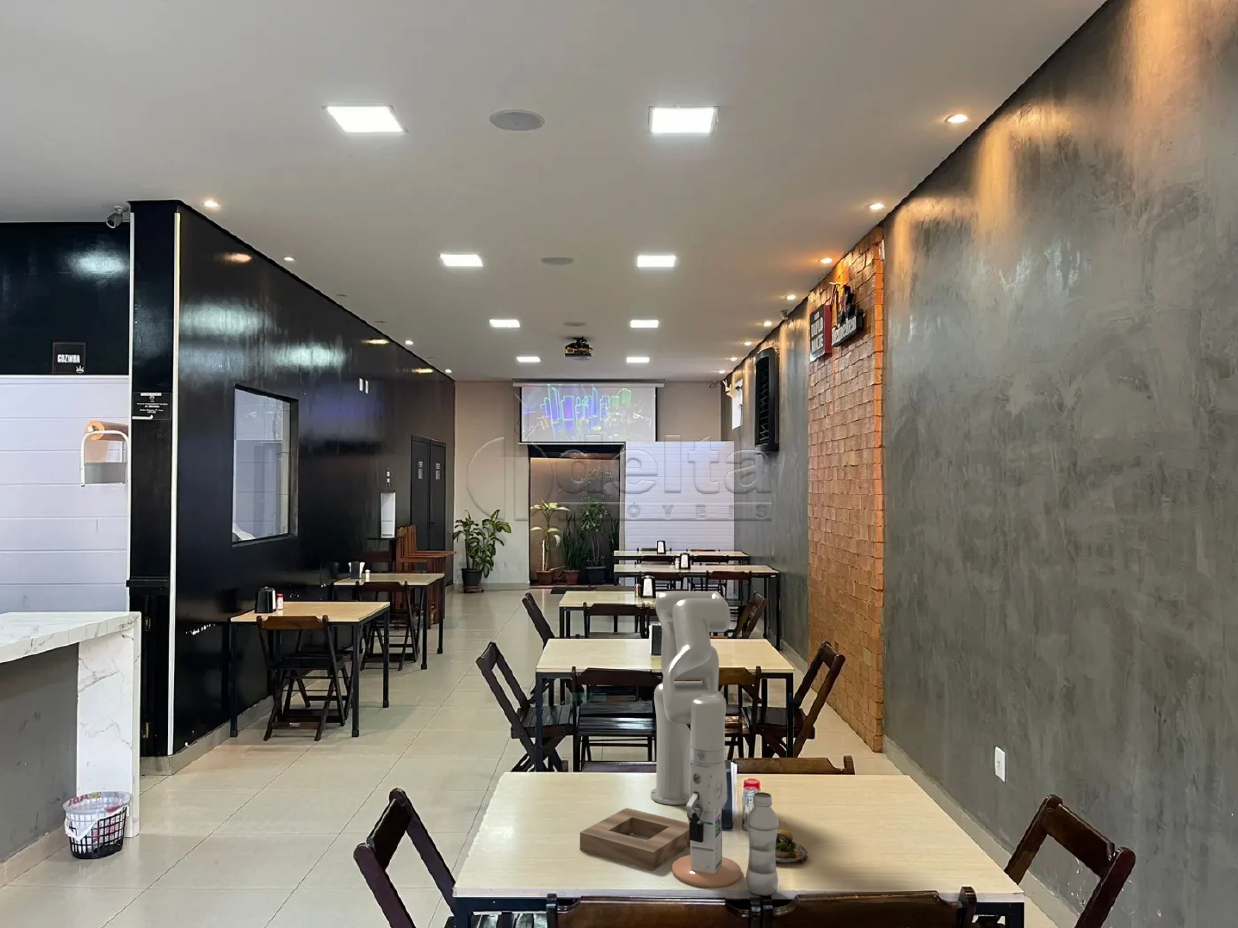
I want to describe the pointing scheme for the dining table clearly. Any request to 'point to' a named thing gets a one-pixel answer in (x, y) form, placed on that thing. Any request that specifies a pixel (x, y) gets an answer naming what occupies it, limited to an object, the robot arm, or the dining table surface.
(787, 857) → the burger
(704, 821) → the syrup box
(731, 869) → the plate
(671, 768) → the robot arm
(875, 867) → the dining table surface
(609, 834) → the holder
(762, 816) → the plastic bottle
